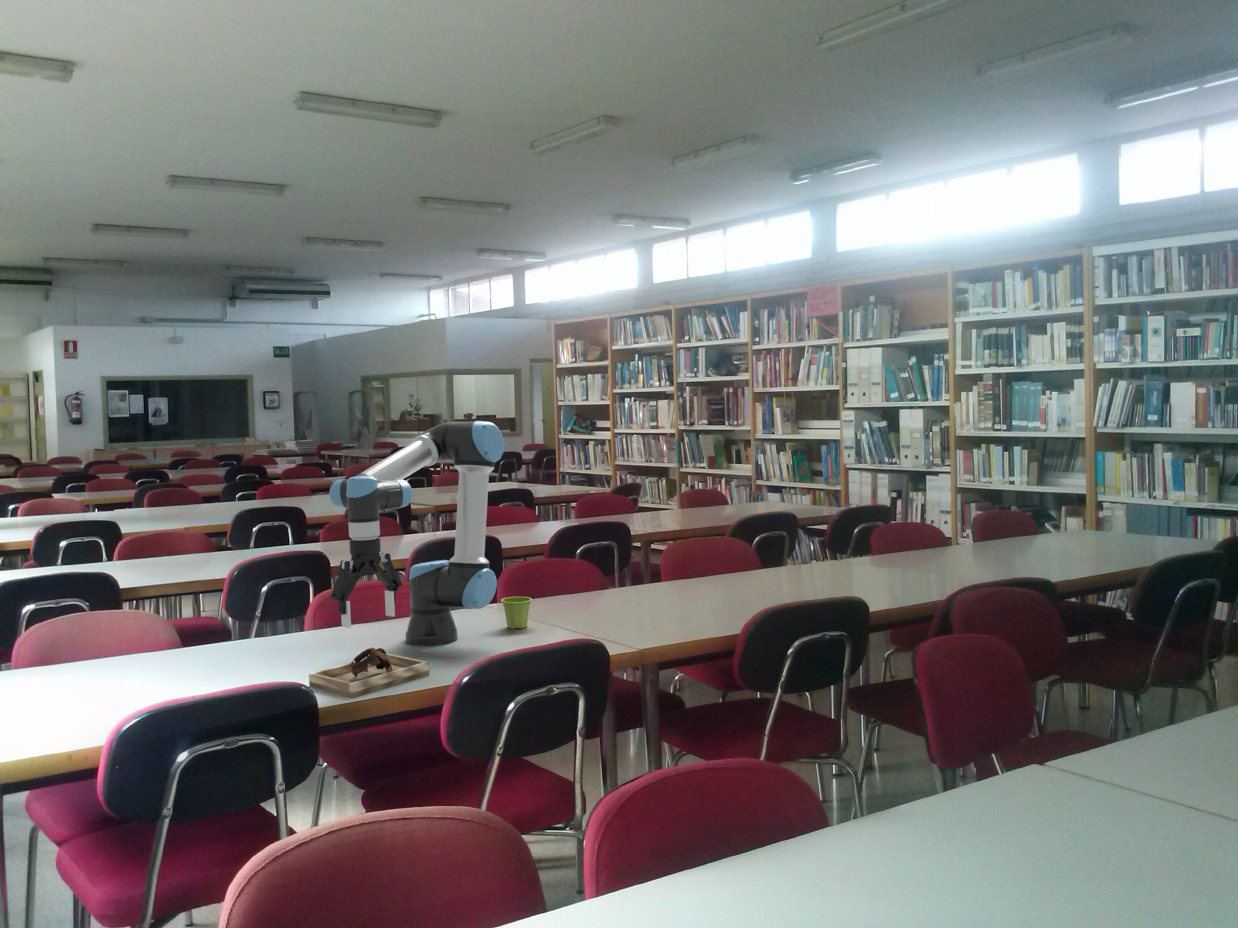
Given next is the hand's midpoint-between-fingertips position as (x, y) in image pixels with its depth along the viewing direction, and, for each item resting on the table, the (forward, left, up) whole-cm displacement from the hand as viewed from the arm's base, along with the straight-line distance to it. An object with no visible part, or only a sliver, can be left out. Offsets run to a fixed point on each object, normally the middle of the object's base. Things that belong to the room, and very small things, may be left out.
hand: (368, 621), depth 248 cm
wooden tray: (0, 0, -15) cm, 15 cm away
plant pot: (-64, -10, -15) cm, 66 cm away
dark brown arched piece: (0, +1, -14) cm, 14 cm away
